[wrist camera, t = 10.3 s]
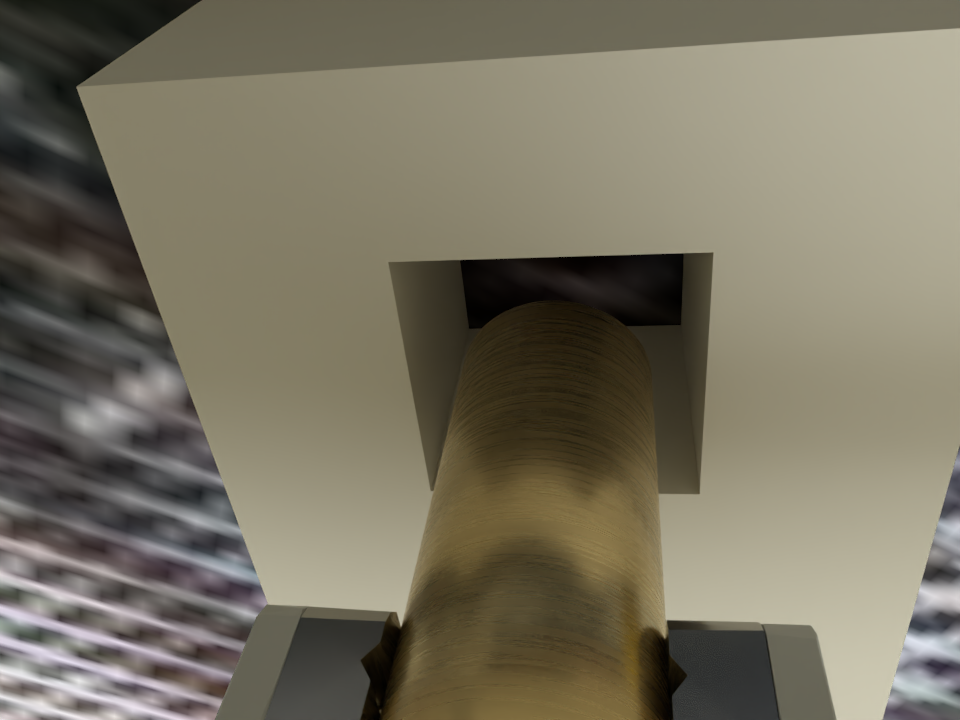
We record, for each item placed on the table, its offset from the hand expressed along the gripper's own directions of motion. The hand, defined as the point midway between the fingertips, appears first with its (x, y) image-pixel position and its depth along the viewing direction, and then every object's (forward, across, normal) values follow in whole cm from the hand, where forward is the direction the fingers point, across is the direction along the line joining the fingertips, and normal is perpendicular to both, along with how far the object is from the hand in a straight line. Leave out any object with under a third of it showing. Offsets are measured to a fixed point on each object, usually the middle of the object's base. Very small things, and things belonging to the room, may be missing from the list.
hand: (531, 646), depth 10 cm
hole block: (+10, 0, +6) cm, 11 cm away
